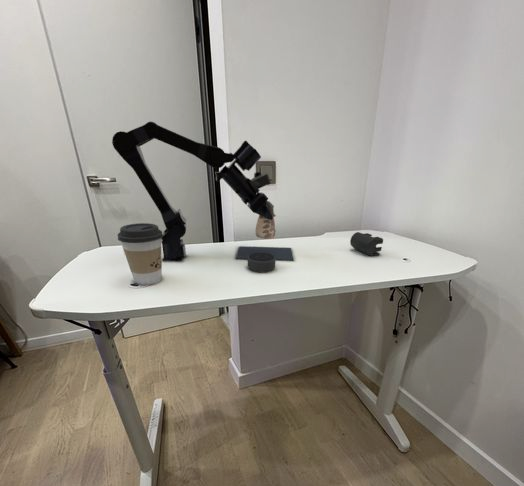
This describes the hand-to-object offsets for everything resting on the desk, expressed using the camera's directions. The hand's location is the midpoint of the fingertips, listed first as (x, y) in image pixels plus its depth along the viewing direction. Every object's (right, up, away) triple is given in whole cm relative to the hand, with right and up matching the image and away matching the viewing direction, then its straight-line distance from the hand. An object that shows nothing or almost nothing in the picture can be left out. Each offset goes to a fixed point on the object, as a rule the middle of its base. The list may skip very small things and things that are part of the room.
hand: (270, 217), depth 100 cm
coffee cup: (-35, -23, -17) cm, 46 cm away
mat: (-2, -12, +6) cm, 13 cm away
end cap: (+36, -11, +11) cm, 39 cm away
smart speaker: (-3, -19, -7) cm, 20 cm away
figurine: (-2, -6, +3) cm, 7 cm away
